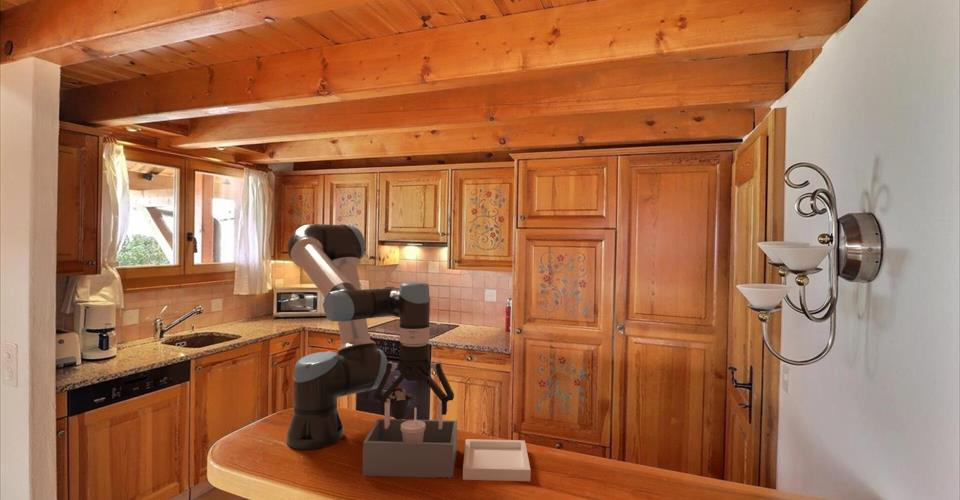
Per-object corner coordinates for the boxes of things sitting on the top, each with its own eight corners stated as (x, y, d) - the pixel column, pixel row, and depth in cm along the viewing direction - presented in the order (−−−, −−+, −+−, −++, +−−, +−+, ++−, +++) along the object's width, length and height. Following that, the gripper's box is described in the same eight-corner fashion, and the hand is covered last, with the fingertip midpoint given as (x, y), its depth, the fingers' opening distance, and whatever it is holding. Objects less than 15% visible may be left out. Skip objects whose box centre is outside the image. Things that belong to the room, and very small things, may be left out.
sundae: (382, 431, 134) (383, 381, 133) (401, 425, 139) (401, 376, 138) (396, 438, 129) (397, 386, 129) (414, 431, 134) (415, 381, 134)
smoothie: (420, 469, 112) (421, 413, 111) (395, 466, 113) (396, 410, 113) (428, 457, 118) (429, 404, 118) (405, 455, 119) (406, 402, 119)
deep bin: (362, 475, 108) (363, 442, 108) (377, 448, 123) (377, 418, 123) (452, 477, 108) (453, 444, 108) (456, 449, 123) (457, 420, 122)
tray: (462, 479, 107) (462, 468, 107) (465, 448, 123) (465, 439, 123) (530, 481, 107) (530, 469, 107) (524, 450, 123) (524, 440, 123)
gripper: (361, 346, 111) (360, 432, 111) (462, 347, 111) (462, 433, 111) (369, 339, 119) (368, 420, 119) (464, 340, 119) (463, 421, 119)
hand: (413, 426), depth 115 cm, fingers open, 13 cm apart
